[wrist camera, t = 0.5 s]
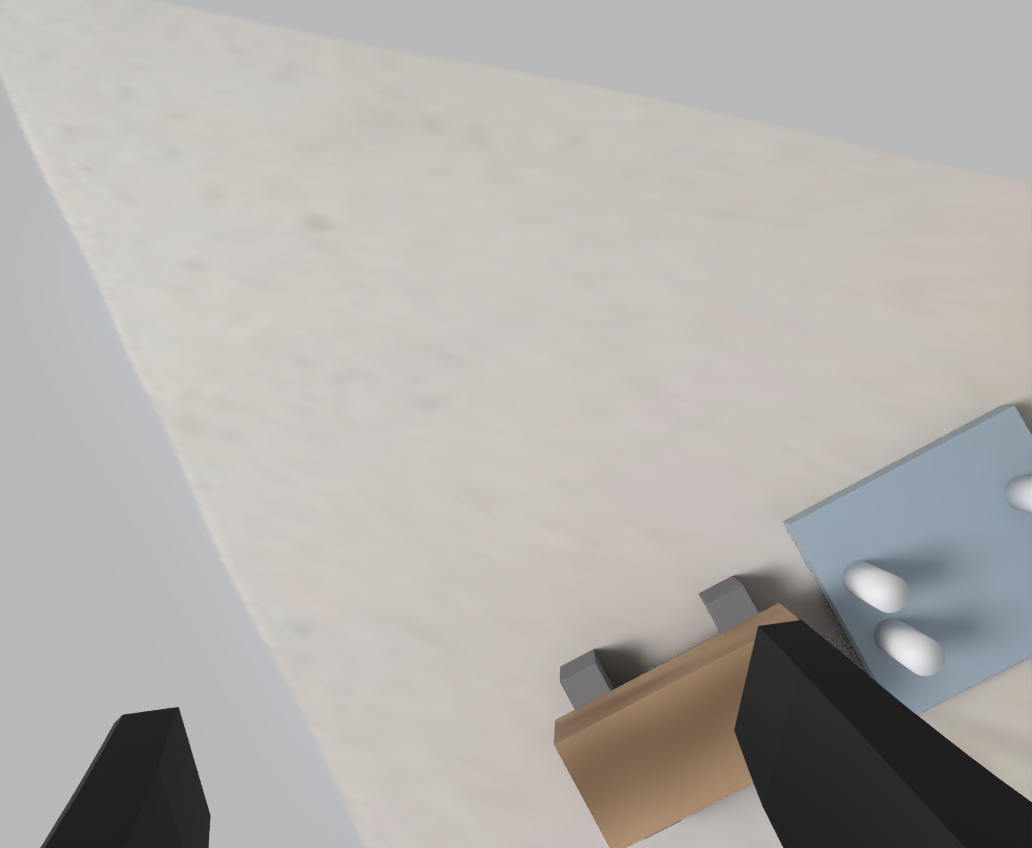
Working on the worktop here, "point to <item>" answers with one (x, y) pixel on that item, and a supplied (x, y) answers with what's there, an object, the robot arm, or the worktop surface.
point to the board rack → (590, 678)
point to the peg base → (932, 560)
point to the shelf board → (664, 737)
